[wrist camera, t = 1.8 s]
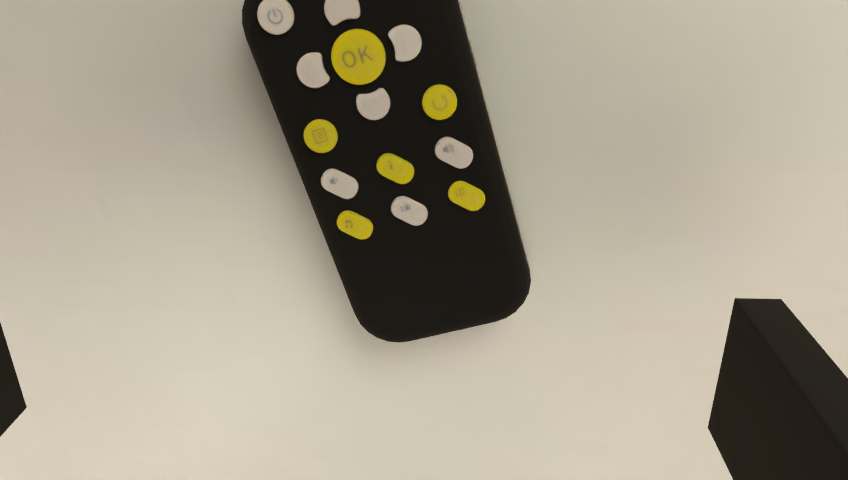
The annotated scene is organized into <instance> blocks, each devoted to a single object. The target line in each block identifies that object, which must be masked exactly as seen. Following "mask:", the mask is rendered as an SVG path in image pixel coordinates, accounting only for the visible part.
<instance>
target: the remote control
mask: <svg viewBox="0 0 848 480" xmlns="http://www.w3.org/2000/svg"><path fill="white" fill-rule="evenodd" d="M242 25H243V28H244V32H245V36H246V39H247V42H248V44H249V47H250V49H251V52H252V55H253V57H254V60H255V62H256V65H257V67H258V70H259V72H260V75H261V77H262V80H263V82H264V85H265V87H266V90H267V93H268V95H269V98H270V100H271V103H272V105H273V108H274V110H275V113H276V115H277V118H278V120H279V123H280V125H281V128H282V131H283V133H284V136H285V138H286V141H287V143H288V146H289V148H290V151H291V153H292V156H293V158H294V161H295V163H296V166H297V169H298V171H299V174H300V176H301V179H302V181H303V184H304V186H305V189H306V191H307V194H308V196H309V199H310V201H311V204H312V207H313V209H314V212H315V214H316V217H317V219H318V222H319V224H320V227H321V229H322V232H323V234H324V237H325V240H326V242H327V245H328V247H329V250H330V252H331V255H332V257H333V260H334V262H335V265H336V267H337V270H338V272H339V275H340V278H341V280H342V283H343V285H344V288H345V290H346V293H347V295H348V298H349V300H350V303H351V305H352V308H353V310H354V313H355V315H356V317H357V319H358V320H359V322H360V324H361V325H362V326H363V327H364V328H365V329H366V330H367V331H368V332H369V333H371V334H372V335H374V336H375V337H377V338H380V339H383V340H386V341H391V342H406V341H412V340H417V339H421V338H425V337H430V336H434V335H439V334H443V333H447V332H452V331H456V330H461V329H465V328H469V327H474V326H478V325H483V324H487V323H491V322H496V321H498V320H501V319H504V318H507V317H508V316H510V315H511V314H513V313H514V312H516V311H517V309H518V308H519V307H520V306H521V305H522V304H523V303H524V301H525V299H526V297H527V295H528V293H529V288H530V283H531V278H530V270H529V264H528V260H527V256H526V253H525V249H524V245H523V241H522V238H521V234H520V230H519V226H518V222H517V219H516V215H515V211H514V207H513V204H512V200H511V196H510V192H509V189H508V185H507V181H506V177H505V173H504V170H503V166H502V162H501V158H500V155H499V151H498V147H497V143H496V139H495V136H494V132H493V128H492V124H491V121H490V117H489V113H488V109H487V105H486V102H485V98H484V94H483V90H482V87H481V83H480V79H479V75H478V72H477V68H476V63H475V60H474V56H473V52H472V48H471V44H470V41H469V38H468V34H467V30H466V26H465V23H464V20H463V16H462V12H461V8H460V4H459V0H245V1H244V5H243V9H242Z"/></svg>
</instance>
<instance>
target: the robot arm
mask: <svg viewBox="0 0 848 480" xmlns="http://www.w3.org/2000/svg"><path fill="white" fill-rule="evenodd" d="M26 408H27V407H26V404H25V401H24V398H23V394H22V391H21V388H20V385H19V381H18V378H17V375H16V372H15V369H14V365H13V362H12V359H11V356H10V352H9V349H8V346H7V343H6V339H5V336H4V333H3V330H2V327H1V323H0V436H1V435H2V434H3V433H4V432H5V431H6V430H7V429H8V427H9V426H10V425H11V424H12V423H13V422H14V421H15V420H16V419H17V418H18V416H19V415H20V414H21V413H22V412H23V411H24V410H25V409H26ZM708 428H709V430H710V432H711V435H712V437H713V439H714V441H715V443H716V445H717V447H718V449H719V451H720V453H721V455H722V457H723V459H724V462H725V464H726V466H727V468H728V470H729V472H730V474H731V476H732V478H733V480H848V378H847V377H846V376H845V375H844V374H843V372H842V371H841V370H840V369H839V368H838V366H837V365H836V364H835V363H834V362H833V360H832V359H831V358H830V357H829V356H828V354H827V353H826V352H825V351H824V350H823V349H822V347H821V346H820V345H819V344H818V343H817V341H816V340H815V339H814V338H813V337H812V335H811V334H810V333H809V332H808V331H807V329H806V328H805V327H804V326H803V325H802V324H801V322H800V321H799V320H798V319H797V318H796V316H795V315H794V314H793V313H792V312H791V310H790V309H789V308H788V307H787V306H786V304H785V303H784V302H783V301H782V300H781V299H740V298H735V300H734V305H733V310H732V315H731V319H730V324H729V329H728V334H727V339H726V343H725V348H724V353H723V358H722V363H721V367H720V372H719V377H718V382H717V387H716V391H715V396H714V401H713V406H712V411H711V415H710V420H709V425H708Z"/></svg>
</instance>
